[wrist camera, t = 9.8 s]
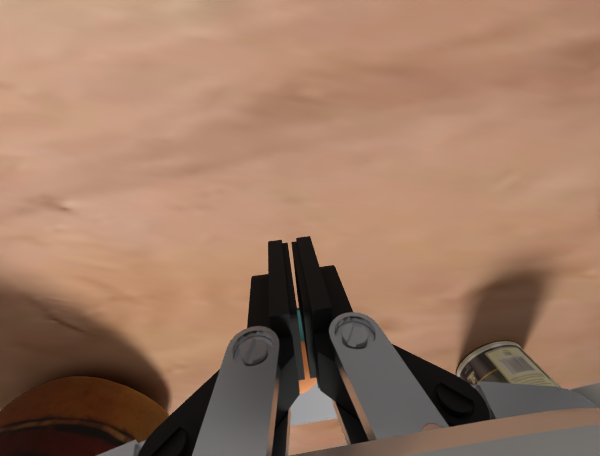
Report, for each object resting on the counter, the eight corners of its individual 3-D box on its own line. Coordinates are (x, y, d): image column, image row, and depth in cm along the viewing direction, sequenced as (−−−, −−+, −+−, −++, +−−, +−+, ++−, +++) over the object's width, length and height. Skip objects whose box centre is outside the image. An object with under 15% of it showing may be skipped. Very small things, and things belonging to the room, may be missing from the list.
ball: (326, 395, 27) (318, 389, 31) (321, 337, 29) (314, 339, 34) (272, 399, 26) (272, 392, 31) (272, 340, 28) (272, 342, 33)
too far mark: (339, 376, 36) (339, 377, 36) (339, 416, 41) (340, 417, 41) (267, 388, 36) (267, 389, 35) (276, 427, 40) (276, 428, 40)
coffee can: (464, 393, 42) (548, 519, 30) (447, 361, 38) (538, 493, 25) (526, 366, 41) (642, 486, 28) (517, 329, 36) (649, 452, 24)
